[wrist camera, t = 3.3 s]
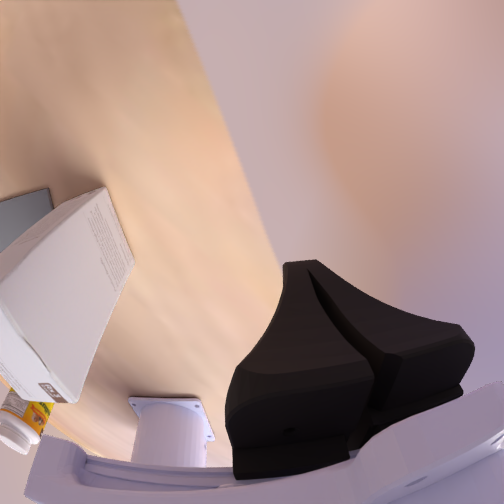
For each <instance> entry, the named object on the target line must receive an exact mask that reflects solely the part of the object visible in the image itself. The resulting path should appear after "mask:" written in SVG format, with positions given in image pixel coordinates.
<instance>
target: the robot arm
mask: <svg viewBox="0 0 504 504" xmlns="http://www.w3.org/2000/svg"><path fill="white" fill-rule="evenodd" d="M474 352H475V346H474V343H473V341H472V340H471V339H470V338H469V336H468V335H467V334H466V332H465V331H464V330H463V329H462V327H461V326H460V325H458V324H452V323H447V322H441V321H436V320H431V319H428V318H424V317H420V316H417V315H414V314H411V313H408V312H405V311H402V310H399V309H397V308H394V307H392V306H390V305H387V304H385V303H383V302H381V301H379V300H377V299H375V298H373V297H371V296H369V295H367V294H366V293H364V292H362V291H361V290H359V289H357V288H356V287H354V286H353V285H351V284H350V283H348V282H347V281H345V280H344V279H342V278H341V277H340V276H338V275H337V274H335V273H334V272H333V271H331V270H330V269H328V268H327V267H326V266H325V265H323V264H322V263H321V262H319V261H317V260H305V261H296V262H286V263H284V264H283V290H282V294H281V297H280V300H279V304H278V306H277V309H276V311H275V314H274V316H273V318H272V320H271V322H270V324H269V326H268V328H267V329H266V331H265V333H264V334H263V336H262V337H261V339H260V340H259V341H258V343H257V344H256V345H255V347H254V348H253V349H252V351H251V352H250V353H249V354H248V355H247V356H246V357H245V358H244V359H243V360H242V361H241V363H240V364H239V365H238V366H237V367H236V369H235V372H234V374H233V377H232V380H231V383H230V386H229V389H228V393H227V397H226V404H225V427H226V430H227V433H228V436H229V440H230V443H231V446H232V455H233V467H206V455H207V441H214V440H215V436H214V434H213V431H212V429H211V426H210V424H209V421H208V419H207V416H206V413H205V411H204V408H203V405H202V403H201V400H199V399H197V398H141V397H129V399H128V402H129V404H130V405H131V407H132V408H133V410H134V411H135V413H136V414H137V416H138V417H139V422H138V427H137V431H136V436H135V442H134V447H133V452H132V457H131V462H126V461H119V460H113V459H107V458H102V457H97V456H92V455H87V454H86V452H85V451H84V450H83V449H82V448H81V447H80V446H78V445H77V444H75V443H73V442H71V441H68V440H64V439H60V438H56V437H53V436H49V435H46V434H45V435H43V436H42V439H41V441H40V444H39V447H38V450H37V453H36V456H35V458H34V461H33V465H32V468H31V471H30V474H29V477H28V481H27V485H26V488H25V492H24V495H25V497H27V498H29V499H30V500H32V501H34V502H35V503H37V504H504V384H503V383H502V381H498V382H493V383H490V384H487V385H485V386H483V387H481V388H479V389H477V390H475V391H473V392H470V393H468V394H466V395H464V396H462V395H463V389H462V388H461V386H460V384H459V383H460V382H461V380H462V378H463V377H464V375H465V373H466V371H467V370H468V368H469V366H470V364H471V362H472V360H473V357H474ZM460 396H462V397H460Z"/></svg>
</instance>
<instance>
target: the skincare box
mask: <svg viewBox="0 0 504 504" xmlns="http://www.w3.org/2000/svg"><path fill="white" fill-rule="evenodd" d="M134 265H135V260H134V258H133V255H132V253H131V251H130V248H129V246H128V244H127V241H126V239H125V236H124V234H123V231H122V229H121V226H120V223H119V221H118V218H117V215H116V213H115V210H114V207H113V205H112V202H111V199H110V196H109V194H108V191H107V188H106V187H101V188H98V189H96V190H93V191H90V192H87V193H85V194H82V195H80V196H77V197H75V198H72V199H70V200H68V201H65V202H63V203H61V204H60V205H59V206H58V207H56V208H55V209H54V210H52V211H51V212H50V213H49V214H47V215H46V216H45V217H43V218H42V219H41V220H39V221H38V222H37V223H35V224H34V225H33V226H32V227H30V228H29V229H28V230H27V231H25V232H24V233H23V234H22V235H21V236H20V237H18V238H17V239H16V240H15V241H14V242H12V243H11V244H10V245H9V246H8V247H7V248H6V249H5V250H3V251H2V252H1V253H0V374H1V375H2V376H3V378H4V379H5V380H6V381H7V382H8V383H9V385H10V386H11V387H12V388H13V389H14V390H15V391H16V392H17V394H18V395H19V396H20V397H21V398H22V399H24V400H28V401H37V402H53V403H77V402H78V400H79V397H80V394H81V391H82V388H83V385H84V382H85V379H86V377H87V374H88V371H89V368H90V366H91V363H92V360H93V358H94V355H95V353H96V350H97V348H98V345H99V343H100V340H101V338H102V335H103V333H104V330H105V328H106V326H107V323H108V321H109V319H110V316H111V314H112V312H113V310H114V307H115V305H116V303H117V301H118V298H119V296H120V294H121V292H122V290H123V287H124V285H125V283H126V281H127V279H128V277H129V275H130V273H131V271H132V269H133V267H134Z"/></svg>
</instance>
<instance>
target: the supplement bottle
mask: <svg viewBox="0 0 504 504" xmlns="http://www.w3.org/2000/svg"><path fill="white" fill-rule="evenodd" d="M53 405H54V403H53V402H37V401H28V400H24V399H22V398H21V397H20V396H19V395H18V394H17V392H16V391H15V390H14V389H13V388H12V387H11V389H10V391H9V393H8V395H7V397H6V399H5V401H4V402H3V405H2V407H1V409H0V422H1V425H0V439H1V441H3V442H4V443H5V444H6V445H8V446H9V447H10V448H12V449H14V450H15V451H17V452H19V453H21V454H24V455H27V454H28V451H29V449H30V446H31V444H37V443H39V441H40V439H41V436H42V433H43V430H44V427H45V425H46V423H47V420H48V418H49V415H50V413H51V410H52V408H53Z"/></svg>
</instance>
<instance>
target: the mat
mask: <svg viewBox="0 0 504 504" xmlns="http://www.w3.org/2000/svg"><path fill="white" fill-rule="evenodd" d="M52 210H54V209H53V205H52V201H51V197H50V192H49V188H46V189H42V190H39V191H35V192H32V193H28V194H25V195H21V196H18V197H15V198H12V199H8V200H5V201H2V202H0V253H1V252H2V251H3V250H5V249H6V248H7V247H8V246H9V245H10V244H11V243H12V242H14V241H15V240H16V239H17V238H18V237H20V236H21V235H22V234H23V233H24V232H25V231H27V230H28V229H29V228H30V227H32V226H33V225H34V224H35V223H37V222H38V221H39V220H41V219H42V218H43V217H45V216H46V215H47V214H49V213H50V212H51V211H52Z"/></svg>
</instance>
